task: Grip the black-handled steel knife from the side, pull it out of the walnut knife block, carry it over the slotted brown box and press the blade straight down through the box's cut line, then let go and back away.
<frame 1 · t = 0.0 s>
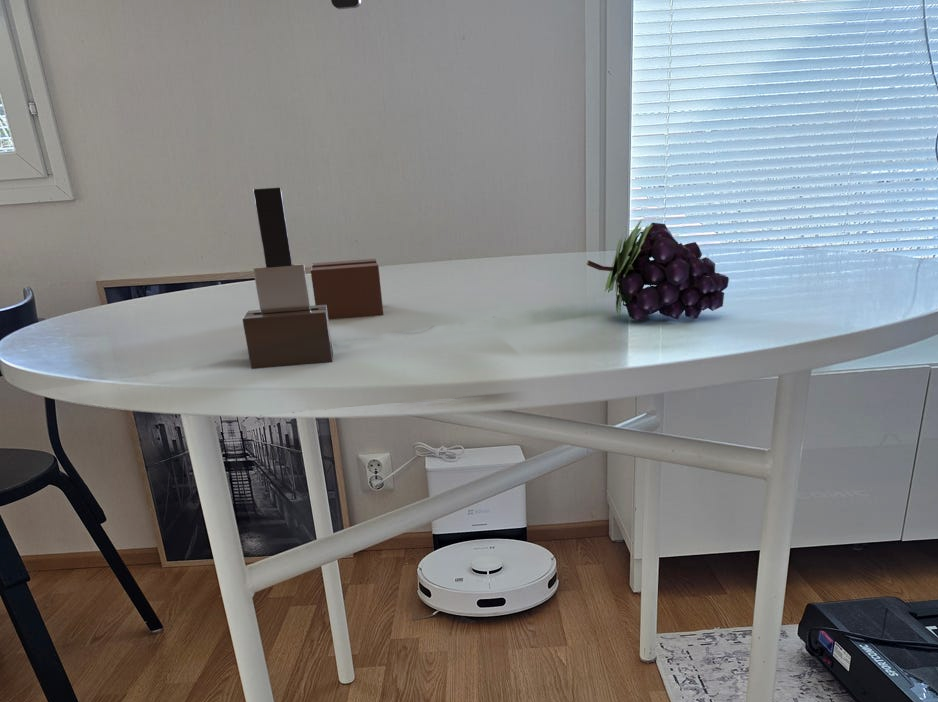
slotted brown box: (352, 328, 97), on the table
fruit: (655, 320, 92), on the table
knife: (293, 359, 79), point 1 cm above the table, touching knife block
knife block: (294, 368, 79), on the table
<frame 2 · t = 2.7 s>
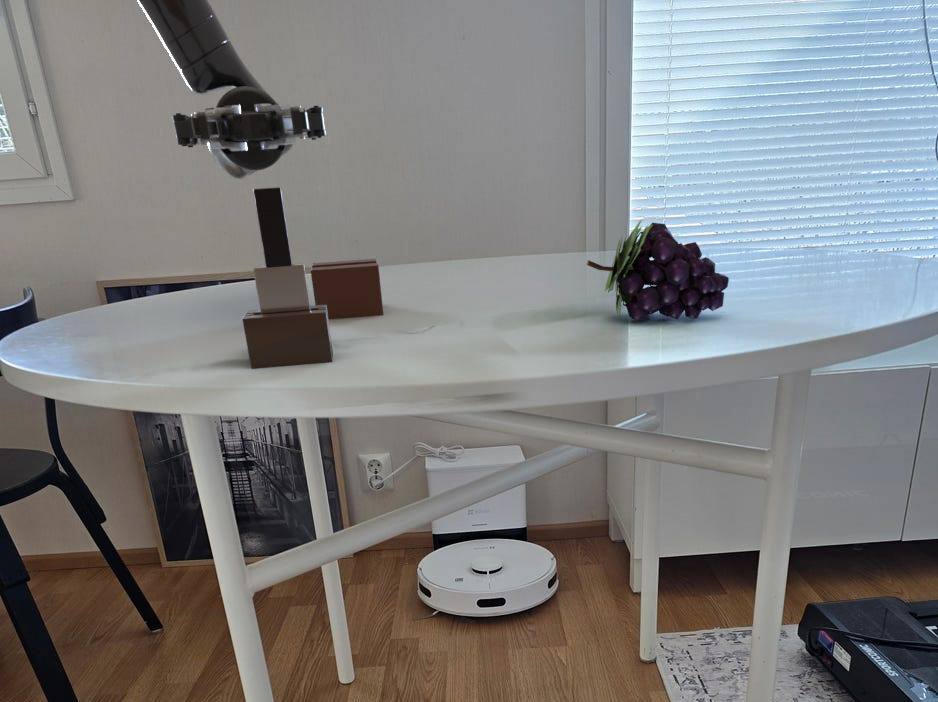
hand: (250, 123, 78), 20 cm above the table, tool horizontal, fingers open, 8 cm apart
nothing on the table moved.
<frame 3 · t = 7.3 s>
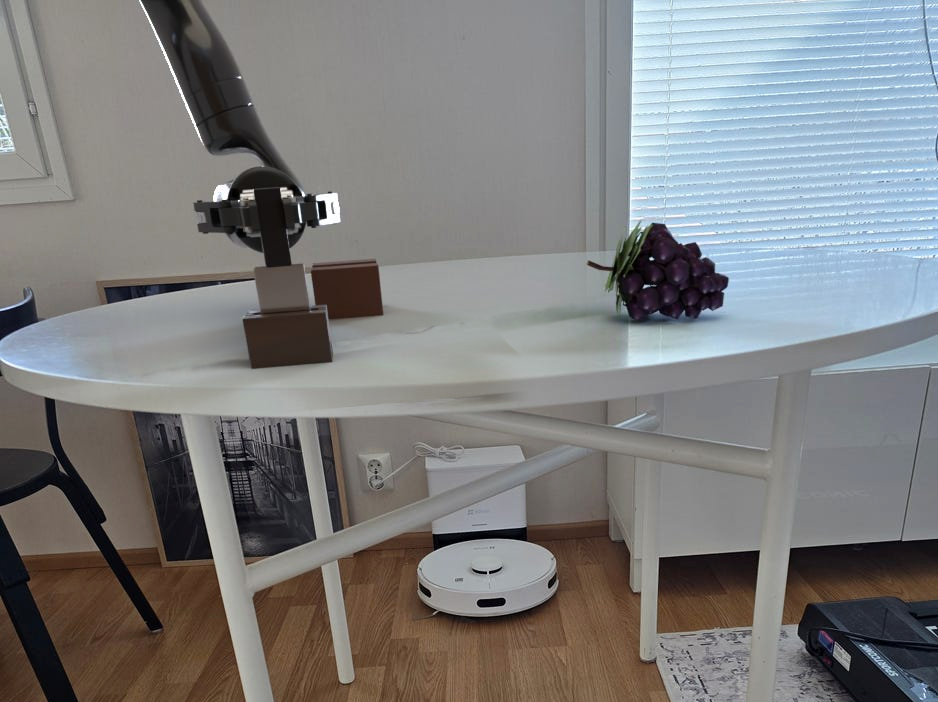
hand: (272, 215, 70), 13 cm above the table, tool horizontal, fingers closed on knife, 2 cm apart
knife: (293, 359, 79), point 1 cm above the table, touching gripper, knife block
everything else where it was.
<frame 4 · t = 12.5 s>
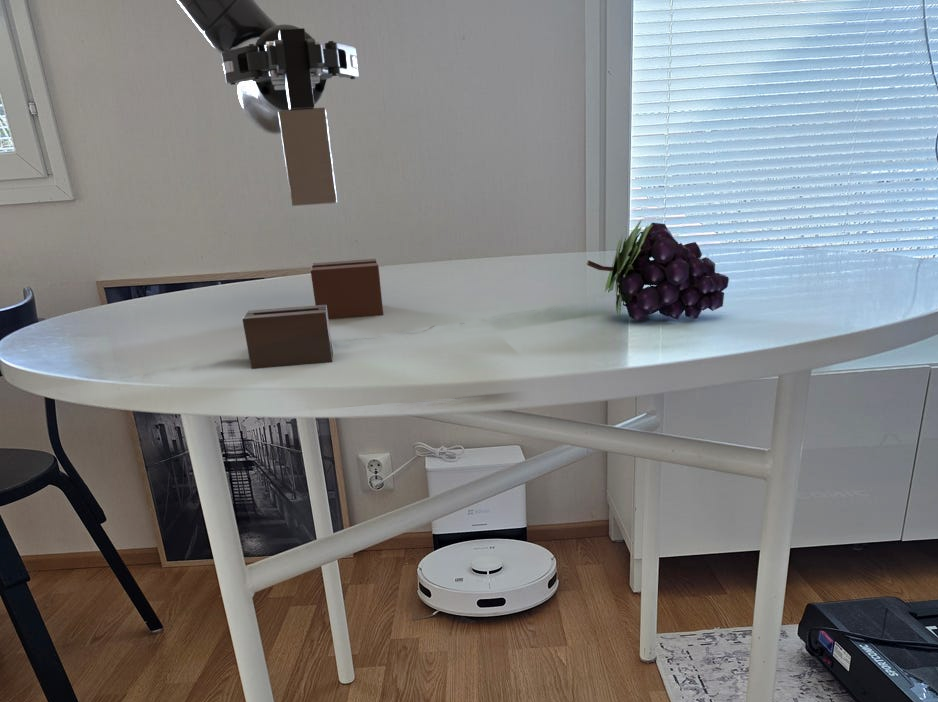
hand: (297, 53, 75), 25 cm above the table, tool horizontal, fingers closed on knife
knife: (314, 204, 84), point 13 cm above the table, touching gripper
everything else where it was.
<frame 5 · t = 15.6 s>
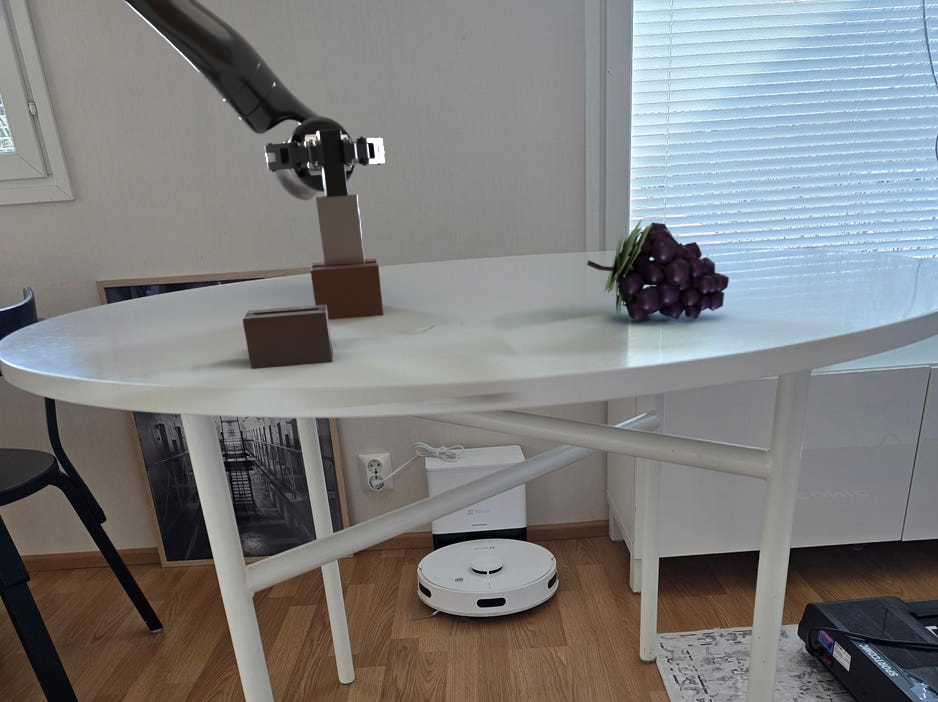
hand: (334, 152, 86), 17 cm above the table, tool horizontal, fingers closed on knife
knife: (346, 276, 95), point 6 cm above the table, touching gripper
everything else where it was.
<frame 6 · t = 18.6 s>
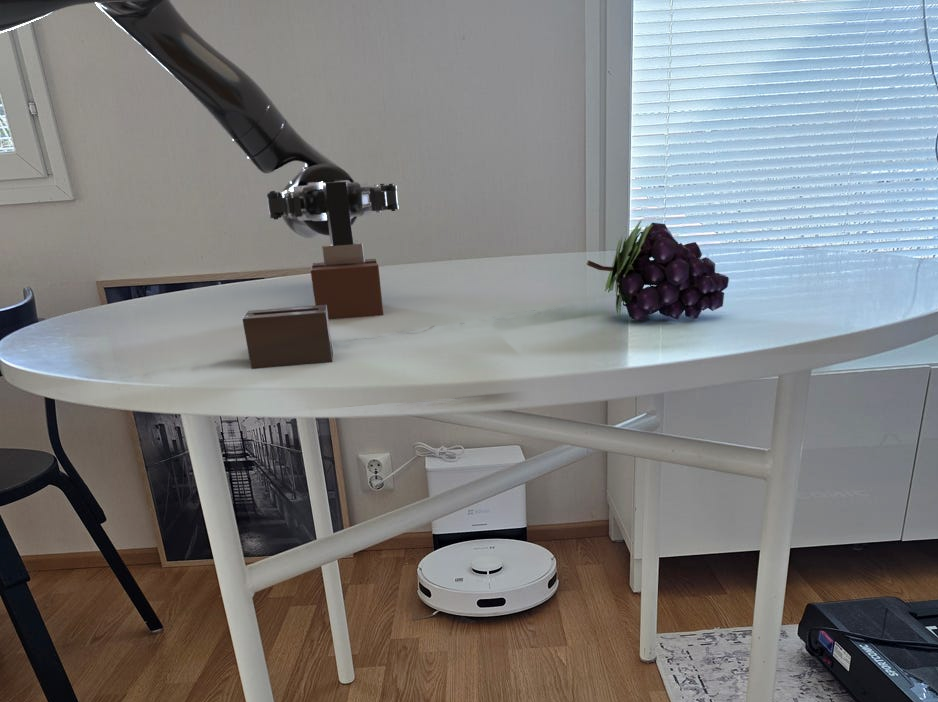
hand: (338, 202, 90), 13 cm above the table, tool horizontal, fingers open, 8 cm apart
knife: (351, 321, 97), point 1 cm above the table, touching slotted brown box
everything else where it was.
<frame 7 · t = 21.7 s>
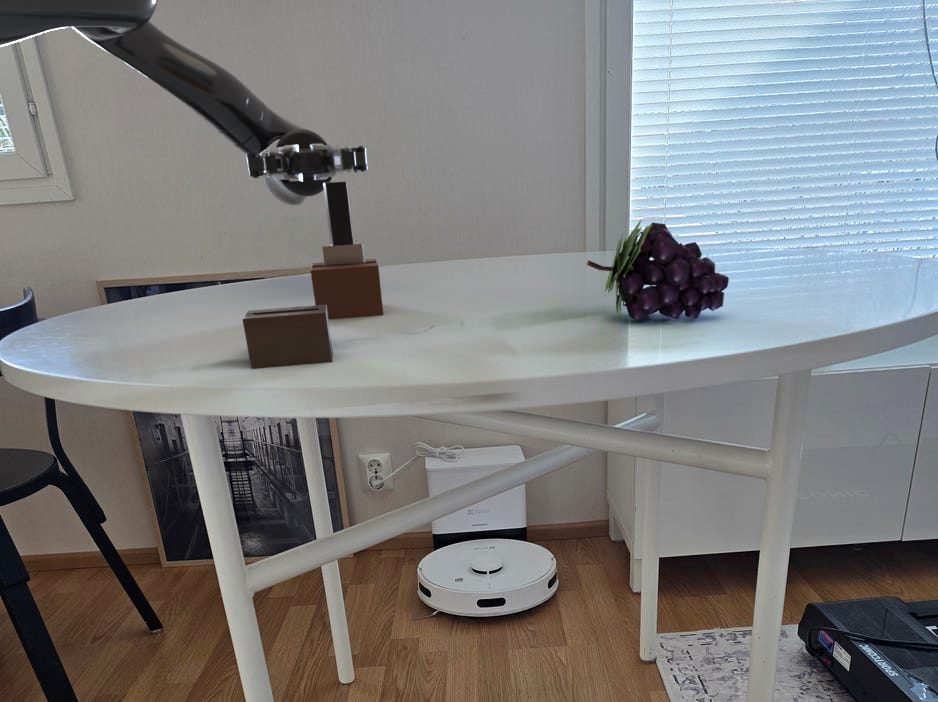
hand: (311, 160, 98), 17 cm above the table, tool horizontal, fingers open, 8 cm apart
nothing on the table moved.
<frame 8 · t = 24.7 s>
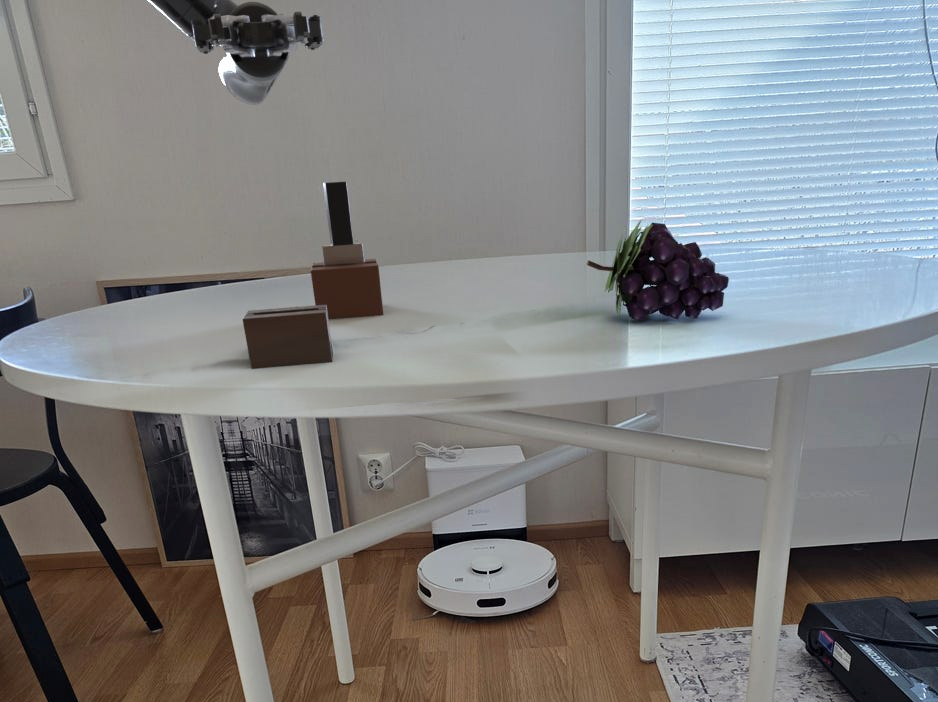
hand: (259, 24, 91), 30 cm above the table, tool horizontal, fingers open, 8 cm apart
nothing on the table moved.
at the end: knife 0.1 cm off-centre on the slotted brown box, point 0.8 cm above the slotted brown box's base; knife moved 21.3 cm from its start; the gripper is holding nothing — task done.
